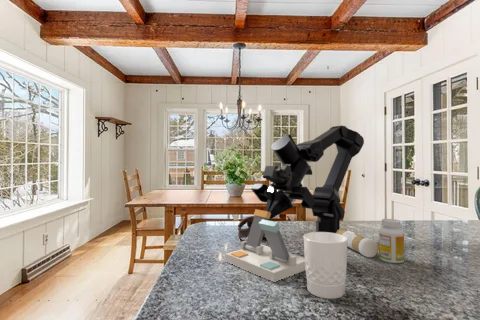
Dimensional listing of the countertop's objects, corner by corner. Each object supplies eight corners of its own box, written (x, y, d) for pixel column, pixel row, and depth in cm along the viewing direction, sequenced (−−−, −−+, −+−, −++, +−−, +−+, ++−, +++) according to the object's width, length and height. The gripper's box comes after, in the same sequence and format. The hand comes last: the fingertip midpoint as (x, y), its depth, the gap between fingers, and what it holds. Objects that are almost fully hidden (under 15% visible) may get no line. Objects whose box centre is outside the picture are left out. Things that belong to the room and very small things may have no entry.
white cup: (314, 278, 58) (314, 230, 58) (354, 289, 53) (353, 235, 53) (296, 292, 52) (295, 237, 52) (339, 305, 47) (338, 245, 47)
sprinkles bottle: (351, 234, 84) (382, 247, 71) (342, 246, 83) (371, 261, 70) (341, 224, 83) (370, 235, 70) (331, 236, 83) (359, 250, 70)
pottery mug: (275, 244, 85) (264, 222, 82) (247, 258, 85) (235, 236, 82) (266, 225, 96) (256, 205, 94) (242, 237, 96) (231, 218, 94)
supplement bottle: (401, 257, 70) (401, 218, 70) (406, 265, 65) (405, 223, 65) (378, 255, 72) (377, 217, 72) (380, 262, 67) (380, 221, 67)
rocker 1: (247, 249, 72) (259, 210, 74) (259, 253, 68) (271, 213, 71) (243, 247, 71) (255, 209, 74) (255, 251, 67) (267, 211, 70)
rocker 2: (277, 255, 64) (262, 219, 61) (292, 260, 61) (277, 222, 58) (274, 259, 63) (258, 223, 60) (289, 265, 60) (273, 226, 57)
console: (260, 251, 76) (260, 237, 76) (311, 268, 63) (310, 251, 63) (224, 261, 68) (224, 245, 68) (274, 283, 56) (274, 264, 56)
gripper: (255, 156, 84) (226, 196, 76) (307, 154, 70) (278, 203, 62) (274, 181, 89) (248, 221, 81) (325, 184, 75) (300, 233, 67)
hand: (266, 219), depth 73 cm, fingers closed
